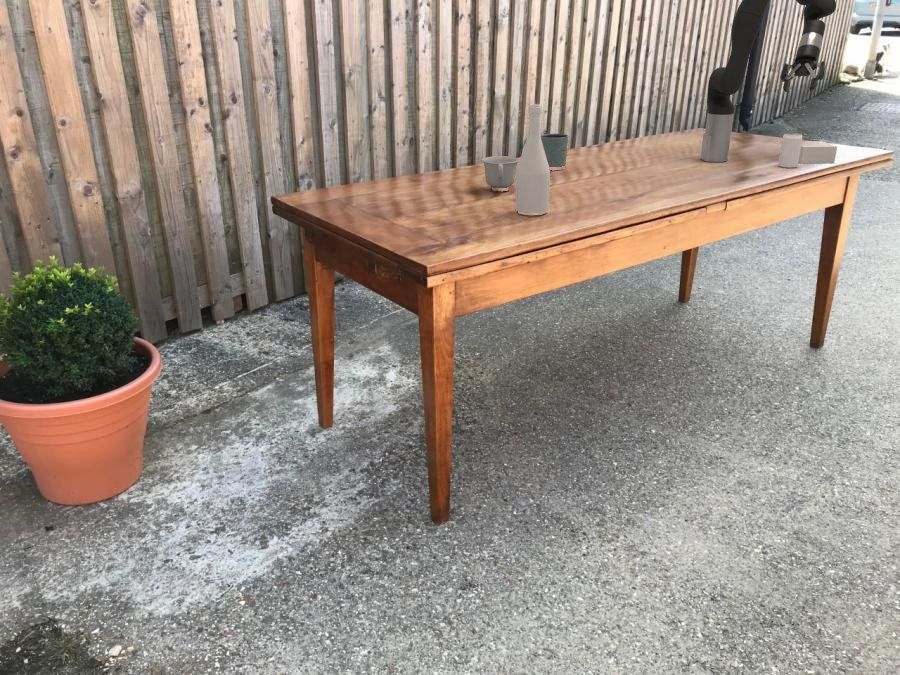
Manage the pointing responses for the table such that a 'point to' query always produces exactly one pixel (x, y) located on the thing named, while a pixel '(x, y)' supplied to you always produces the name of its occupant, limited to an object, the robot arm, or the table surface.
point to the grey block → (817, 152)
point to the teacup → (500, 170)
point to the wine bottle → (533, 169)
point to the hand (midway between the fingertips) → (798, 90)
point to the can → (790, 149)
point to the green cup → (555, 149)
